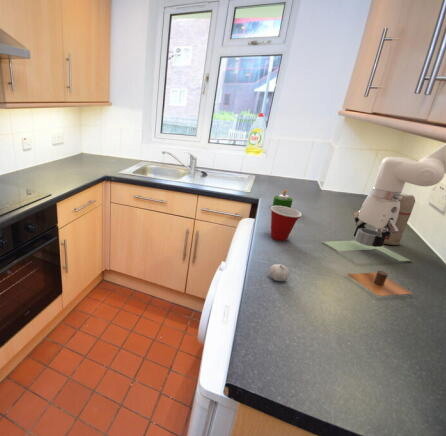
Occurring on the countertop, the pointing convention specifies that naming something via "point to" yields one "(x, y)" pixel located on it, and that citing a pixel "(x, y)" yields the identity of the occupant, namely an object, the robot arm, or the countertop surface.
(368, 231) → the tape roll
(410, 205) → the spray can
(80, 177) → the countertop surface
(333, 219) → the countertop surface
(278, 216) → the plastic cup
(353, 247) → the mat
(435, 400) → the countertop surface
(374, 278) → the stand
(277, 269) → the garlic
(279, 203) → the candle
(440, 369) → the countertop surface
